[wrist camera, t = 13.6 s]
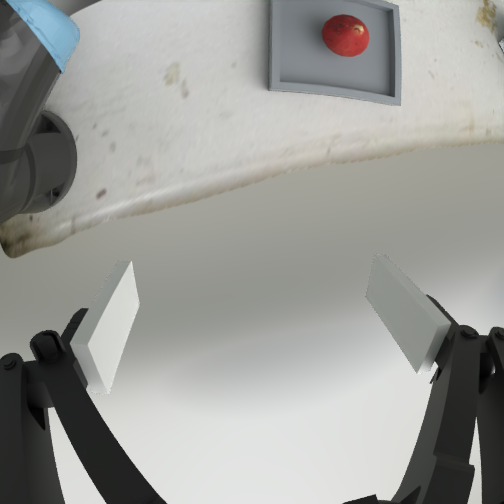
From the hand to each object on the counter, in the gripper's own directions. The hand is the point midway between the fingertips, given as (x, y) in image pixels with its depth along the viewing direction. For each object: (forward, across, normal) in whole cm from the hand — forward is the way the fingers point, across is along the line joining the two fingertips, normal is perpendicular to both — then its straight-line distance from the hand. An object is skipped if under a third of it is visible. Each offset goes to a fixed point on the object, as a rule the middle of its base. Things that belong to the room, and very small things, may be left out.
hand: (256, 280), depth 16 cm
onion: (+26, +13, +20) cm, 35 cm away
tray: (+27, +13, +20) cm, 36 cm away
